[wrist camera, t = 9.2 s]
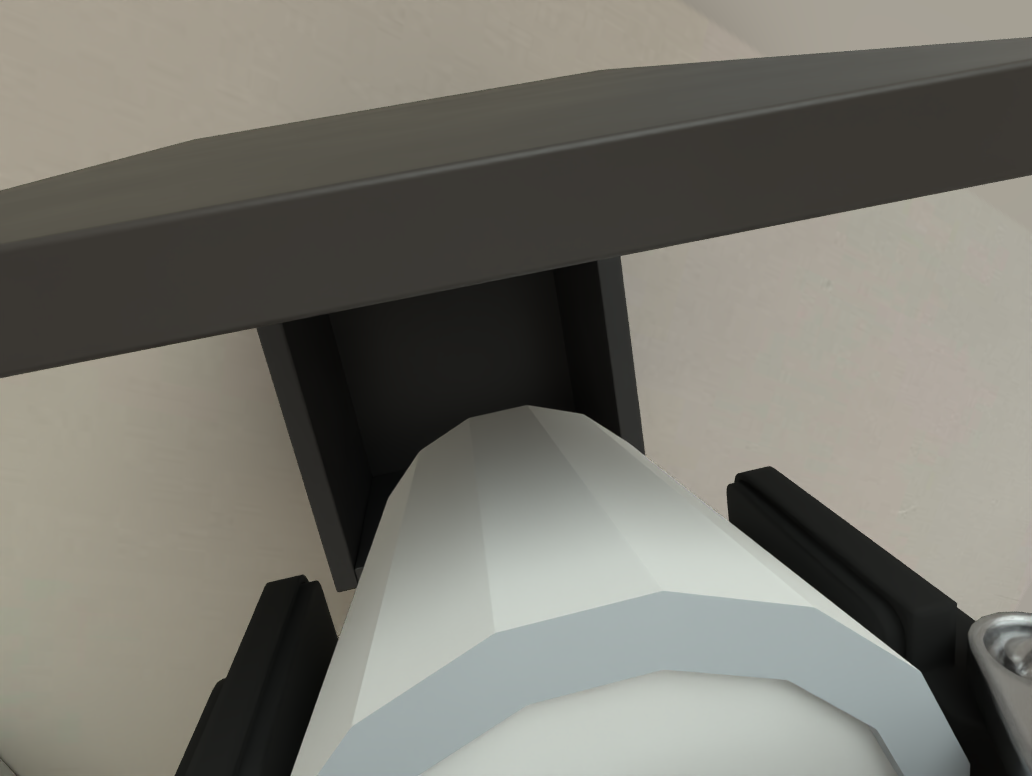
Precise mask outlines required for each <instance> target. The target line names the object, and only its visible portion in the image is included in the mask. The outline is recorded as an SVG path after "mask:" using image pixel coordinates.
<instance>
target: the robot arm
mask: <svg viewBox="0 0 1032 776" xmlns="http://www.w3.org/2000/svg"><path fill="white" fill-rule="evenodd" d="M727 504H728V516H729V522H730V523H731V524H733V525H734V526H735V527H737V528H738V529H739V530H740V531H742V532H743V533H744V534H746V535H747V536H748V537H749V538H751V539H752V540H753V541H754V542H756V543H757V544H758V545H760V546H761V547H762V548H763V549H765V550H766V551H767V552H769V553H770V554H771V555H772V556H774V557H775V558H776V559H777V560H779V561H780V562H781V563H783V564H784V565H785V566H786V567H788V568H789V569H790V570H791V571H793V572H794V573H795V574H797V575H798V576H799V577H800V578H802V579H803V580H804V581H806V582H807V583H808V584H809V585H811V586H812V587H813V588H814V589H816V590H817V591H818V592H820V593H821V594H822V595H823V596H825V597H826V598H827V599H829V600H830V601H831V602H832V603H834V604H835V605H836V606H837V607H839V608H840V609H841V610H843V611H844V612H845V613H846V614H848V615H849V616H850V617H851V618H853V619H854V620H855V621H857V622H858V623H859V624H860V625H862V626H863V627H864V628H866V629H867V630H868V631H869V632H871V633H872V634H873V635H874V636H876V637H877V638H878V639H880V640H881V641H882V642H883V643H885V644H886V645H887V646H889V647H890V648H891V649H892V650H894V651H895V652H896V653H897V654H899V655H900V656H901V657H903V658H904V659H905V660H906V661H908V662H909V663H910V664H911V665H913V666H914V667H915V668H917V669H918V670H919V671H920V672H921V673H922V675H923V677H924V679H925V681H926V683H927V684H928V686H929V688H930V690H931V692H932V694H933V696H934V698H935V699H936V701H937V703H938V705H939V707H940V709H941V711H942V712H943V714H944V716H945V718H946V720H947V722H948V724H949V726H950V727H951V729H952V731H953V733H954V735H955V737H956V739H957V740H958V742H959V744H960V746H961V748H962V750H963V752H964V754H965V755H966V757H967V759H968V761H969V763H970V776H1032V613H1024V612H998V613H994V614H991V615H987V616H983V617H981V618H980V619H979V620H977V621H975V620H973V619H972V618H971V617H969V616H968V615H967V614H965V613H964V612H963V611H961V610H960V609H959V608H957V603H956V602H955V601H953V600H952V599H951V598H949V597H948V596H947V595H945V594H944V593H943V592H941V591H940V590H939V589H937V588H936V587H934V586H933V585H932V584H930V583H929V582H928V581H926V580H925V579H924V578H922V577H921V576H920V575H918V574H917V573H915V572H914V571H913V570H911V569H910V568H909V567H907V566H906V565H905V564H903V563H902V562H901V561H899V560H898V559H896V558H895V557H894V556H892V555H891V554H890V553H888V552H887V551H886V550H884V549H883V548H882V547H880V546H879V545H877V544H876V543H875V542H873V541H872V540H871V539H869V538H868V537H867V536H865V535H864V534H863V533H861V532H860V531H859V530H857V529H856V528H854V527H853V526H852V525H850V524H849V523H848V522H846V521H845V520H844V519H842V518H841V517H840V516H838V515H837V514H835V513H834V512H833V511H831V510H830V509H829V508H827V507H826V506H825V505H823V504H822V503H821V502H819V501H818V500H816V499H815V498H814V497H812V496H811V495H810V494H808V493H807V492H806V491H804V490H803V489H802V488H800V487H799V486H797V485H796V484H795V483H793V482H792V481H791V480H789V479H788V478H787V477H785V476H784V475H783V474H781V473H780V472H779V471H777V470H776V469H774V468H773V467H770V466H769V467H764V468H759V469H755V470H751V471H746V472H742V473H738V474H737V475H736V476H735V481H734V483H732V484H729V485H728V486H727ZM337 642H338V638H337V634H336V631H335V628H334V625H333V622H332V618H331V615H330V612H329V609H328V606H327V603H326V599H325V596H324V593H323V590H322V587H321V585H320V583H319V582H318V581H312V582H309V581H308V579H307V578H306V576H304V575H299V576H294V577H290V578H286V579H282V580H277V581H273V582H269V583H267V584H266V586H265V587H264V590H263V592H262V594H261V597H260V599H259V602H258V604H257V606H256V609H255V611H254V613H253V616H252V618H251V620H250V623H249V625H248V627H247V630H246V632H245V635H244V637H243V639H242V642H241V644H240V646H239V649H238V651H237V653H236V656H235V658H234V660H233V663H232V665H231V668H230V670H229V672H228V675H227V677H226V678H225V679H222V680H220V681H219V682H217V684H216V685H215V687H214V689H213V690H212V693H211V695H210V697H209V699H208V702H207V704H206V706H205V708H204V711H203V713H202V715H201V717H200V720H199V722H198V724H197V726H196V729H195V731H194V733H193V736H192V738H191V740H190V742H189V745H188V747H187V749H186V751H185V754H184V756H183V758H182V760H181V763H180V765H179V767H178V770H177V772H176V774H175V776H291V773H292V770H293V767H294V764H295V762H296V759H297V756H298V753H299V750H300V747H301V744H302V742H303V739H304V736H305V733H306V730H307V727H308V725H309V722H310V719H311V716H312V713H313V710H314V708H315V705H316V702H317V699H318V696H319V693H320V691H321V688H322V685H323V682H324V679H325V676H326V673H327V671H328V668H329V665H330V662H331V659H332V656H333V654H334V651H335V648H336V645H337Z"/></svg>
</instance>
